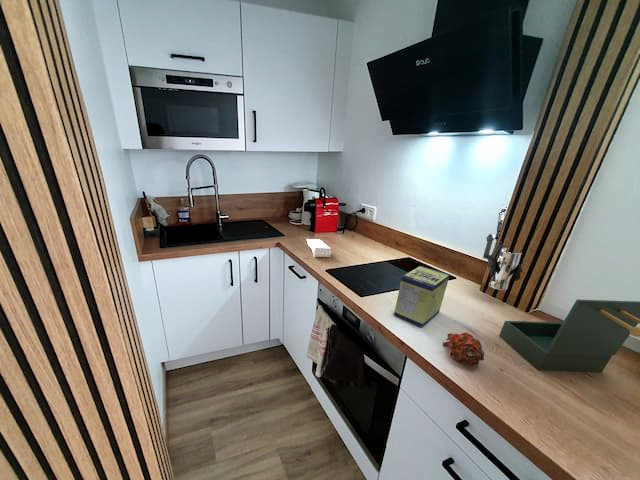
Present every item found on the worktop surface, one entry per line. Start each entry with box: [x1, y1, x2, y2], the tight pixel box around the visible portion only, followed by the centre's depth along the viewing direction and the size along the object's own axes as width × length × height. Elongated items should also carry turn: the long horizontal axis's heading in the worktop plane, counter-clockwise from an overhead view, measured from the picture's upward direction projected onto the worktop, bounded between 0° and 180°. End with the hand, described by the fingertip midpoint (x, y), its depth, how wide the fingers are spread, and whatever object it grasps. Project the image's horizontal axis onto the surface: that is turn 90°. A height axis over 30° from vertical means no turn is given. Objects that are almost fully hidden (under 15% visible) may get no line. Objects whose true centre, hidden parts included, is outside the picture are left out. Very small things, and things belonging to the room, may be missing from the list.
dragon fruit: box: [442, 331, 485, 367], centre depth 81 cm, size 8×8×12 cm
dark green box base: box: [498, 320, 613, 373], centre depth 84 cm, size 16×18×6 cm
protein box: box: [393, 265, 451, 328], centre depth 100 cm, size 10×16×16 cm
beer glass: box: [488, 247, 523, 291], centre depth 108 cm, size 7×7×15 cm
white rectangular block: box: [306, 238, 332, 258], centre depth 165 cm, size 10×7×28 cm
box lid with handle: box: [547, 299, 640, 356], centre depth 68 cm, size 16×18×10 cm
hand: (504, 277), depth 106 cm, fingers closed on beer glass, 7 cm apart
